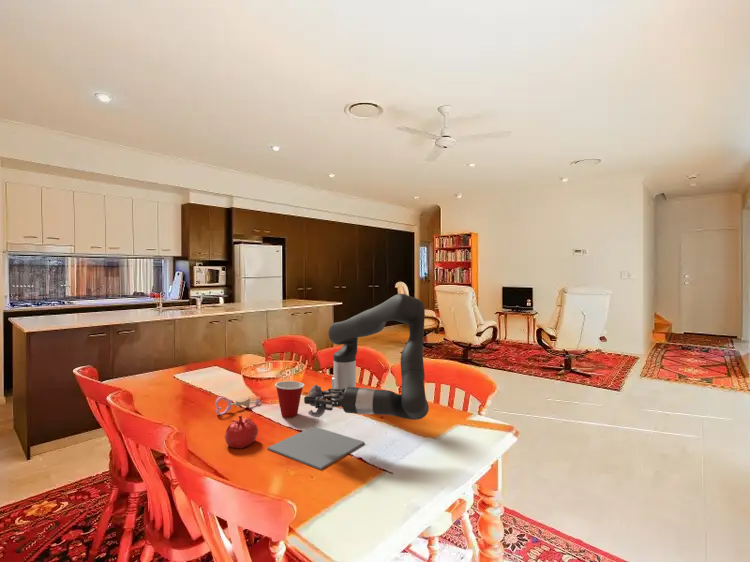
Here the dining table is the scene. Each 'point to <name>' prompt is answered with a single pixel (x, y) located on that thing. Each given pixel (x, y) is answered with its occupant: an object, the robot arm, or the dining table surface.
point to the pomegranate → (241, 433)
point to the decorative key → (245, 403)
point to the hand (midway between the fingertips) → (308, 396)
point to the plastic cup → (289, 397)
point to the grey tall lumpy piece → (314, 392)
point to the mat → (316, 447)
